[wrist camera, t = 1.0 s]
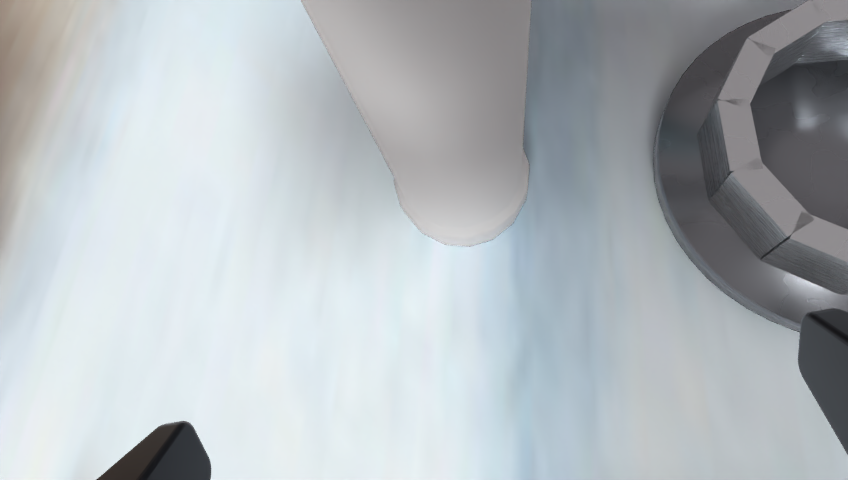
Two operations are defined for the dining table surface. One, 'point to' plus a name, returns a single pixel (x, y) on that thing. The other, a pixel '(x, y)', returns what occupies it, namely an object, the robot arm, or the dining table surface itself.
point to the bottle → (440, 103)
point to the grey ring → (764, 162)
